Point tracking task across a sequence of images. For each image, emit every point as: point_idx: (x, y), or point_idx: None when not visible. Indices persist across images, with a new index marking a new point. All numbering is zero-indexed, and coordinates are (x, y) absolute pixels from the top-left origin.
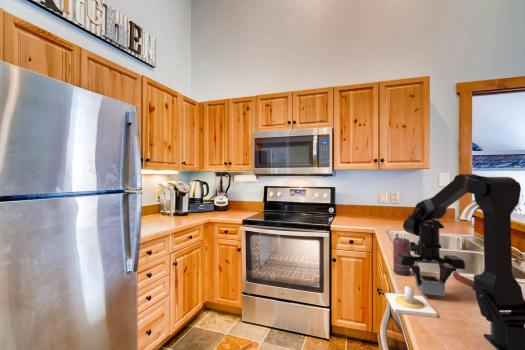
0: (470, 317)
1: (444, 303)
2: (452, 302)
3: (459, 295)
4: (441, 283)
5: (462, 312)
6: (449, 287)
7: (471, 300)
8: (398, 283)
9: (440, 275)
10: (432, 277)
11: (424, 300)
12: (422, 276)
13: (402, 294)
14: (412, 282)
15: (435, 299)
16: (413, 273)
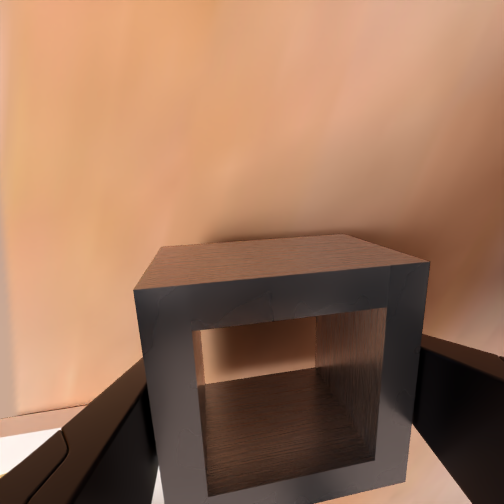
0: (359, 500)
1: None
2: None
3: (454, 239)
4: (371, 482)
5: None
6: (469, 89)
7: (479, 298)
8: (13, 87)
9: (470, 398)
10: (359, 306)
11: None
12: (230, 323)
13: (10, 440)
14: (181, 18)
15: (268, 360)
16: (50, 444)
